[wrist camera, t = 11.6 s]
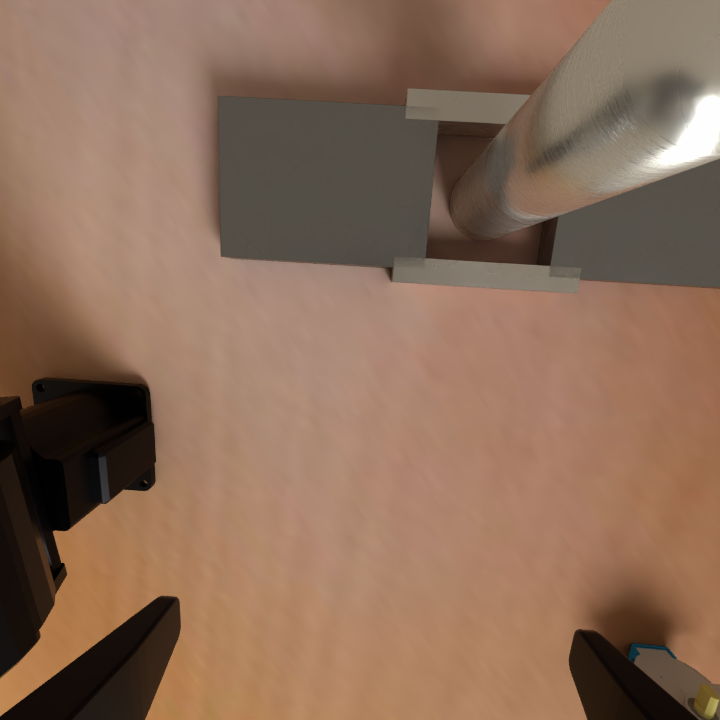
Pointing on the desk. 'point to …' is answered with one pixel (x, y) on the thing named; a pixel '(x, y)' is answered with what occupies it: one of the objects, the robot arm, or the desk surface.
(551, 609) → the desk surface
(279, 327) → the desk surface
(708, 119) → the link pin
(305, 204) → the grey slotted plate
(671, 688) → the electric motor
